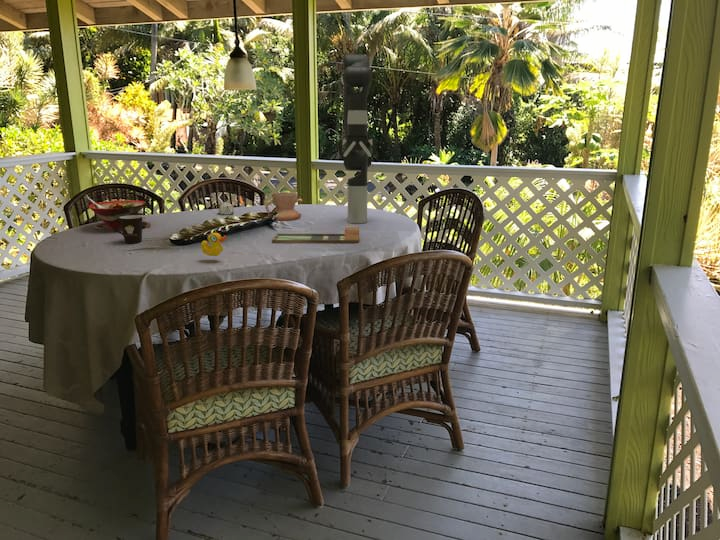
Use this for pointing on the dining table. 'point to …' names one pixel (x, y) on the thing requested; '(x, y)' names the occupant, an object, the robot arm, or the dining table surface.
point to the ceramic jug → (285, 206)
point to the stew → (116, 212)
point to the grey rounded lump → (226, 208)
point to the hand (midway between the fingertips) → (357, 166)
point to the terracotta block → (351, 233)
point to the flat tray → (306, 238)
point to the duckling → (213, 244)
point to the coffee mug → (130, 228)
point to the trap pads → (323, 236)
